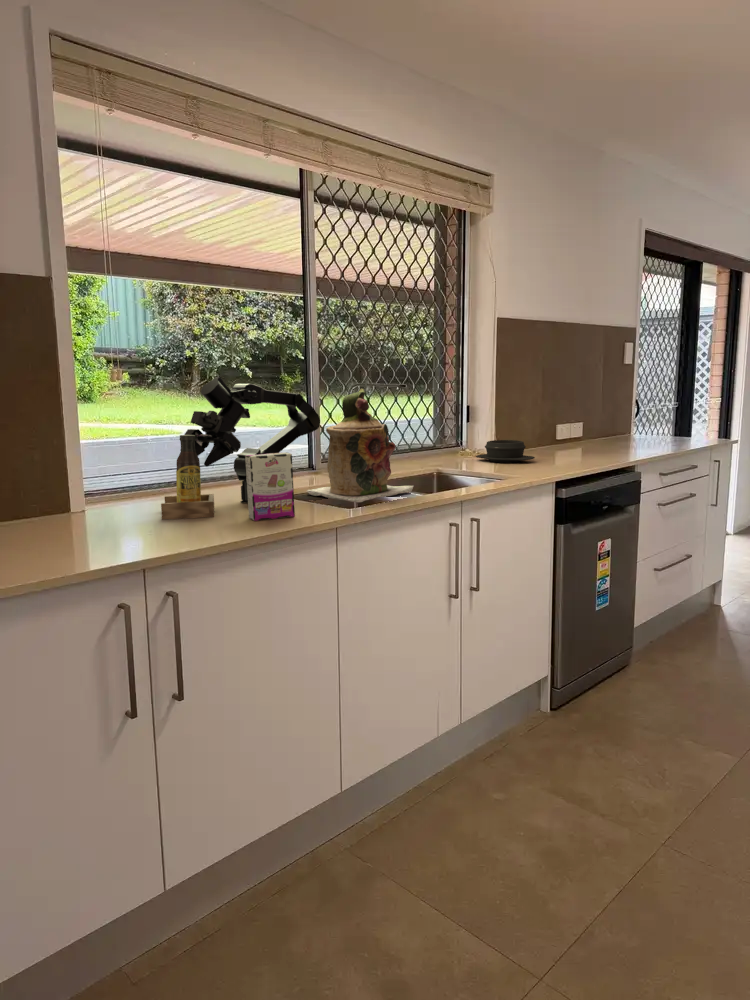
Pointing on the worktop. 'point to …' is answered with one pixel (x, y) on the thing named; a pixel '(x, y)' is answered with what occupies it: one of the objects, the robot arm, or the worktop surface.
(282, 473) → the candy bar box
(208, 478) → the worktop surface
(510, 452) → the casserole
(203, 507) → the box
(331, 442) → the cookie jar
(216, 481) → the worktop surface
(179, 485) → the sauce bottle
